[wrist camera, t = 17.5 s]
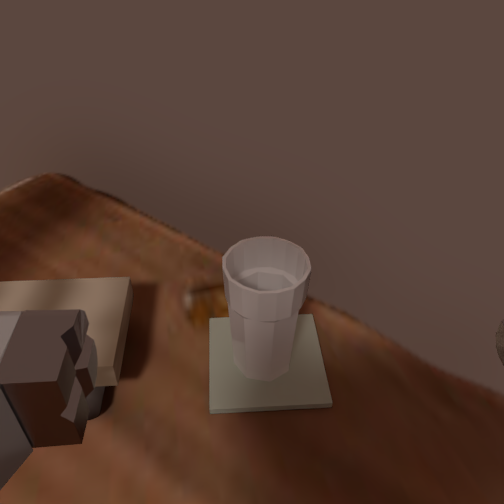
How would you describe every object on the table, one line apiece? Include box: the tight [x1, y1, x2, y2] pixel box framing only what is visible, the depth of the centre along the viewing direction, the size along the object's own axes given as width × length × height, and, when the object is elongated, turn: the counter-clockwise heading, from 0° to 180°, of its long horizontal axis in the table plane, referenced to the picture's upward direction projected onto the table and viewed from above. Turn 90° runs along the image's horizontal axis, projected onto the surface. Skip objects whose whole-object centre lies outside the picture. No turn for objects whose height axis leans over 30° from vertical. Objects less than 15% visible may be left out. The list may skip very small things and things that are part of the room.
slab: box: [0, 277, 134, 420], centre depth 41 cm, size 14×12×5 cm
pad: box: [210, 314, 333, 414], centre depth 43 cm, size 10×10×1 cm
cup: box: [223, 236, 311, 382], centre depth 40 cm, size 7×7×11 cm
